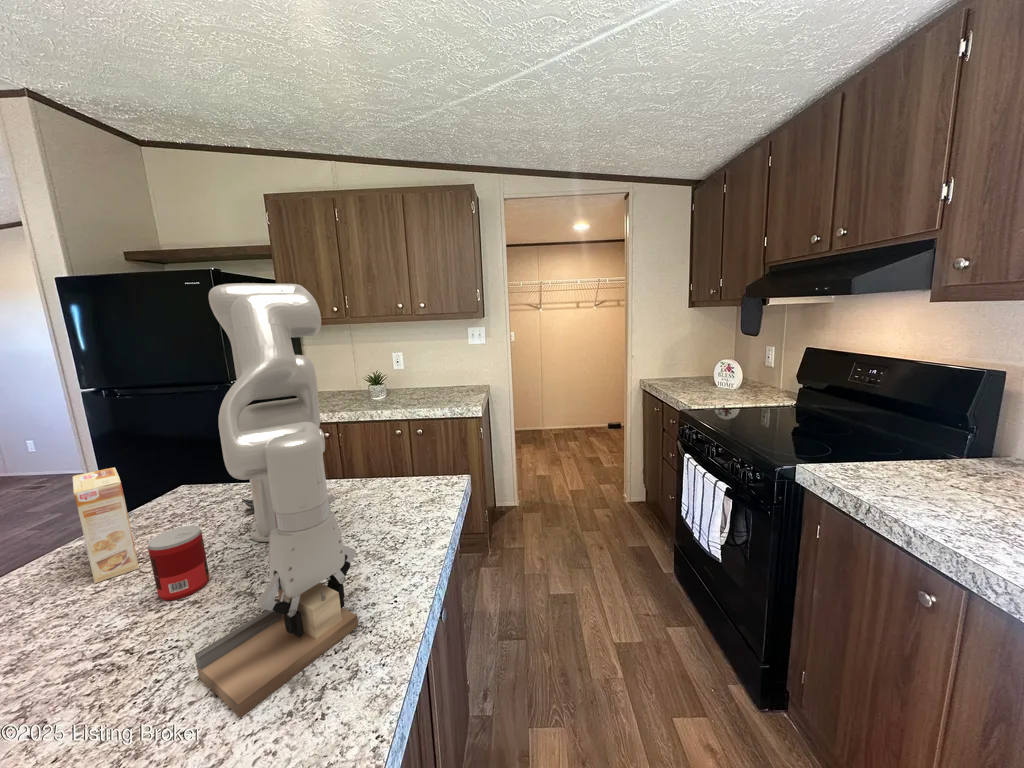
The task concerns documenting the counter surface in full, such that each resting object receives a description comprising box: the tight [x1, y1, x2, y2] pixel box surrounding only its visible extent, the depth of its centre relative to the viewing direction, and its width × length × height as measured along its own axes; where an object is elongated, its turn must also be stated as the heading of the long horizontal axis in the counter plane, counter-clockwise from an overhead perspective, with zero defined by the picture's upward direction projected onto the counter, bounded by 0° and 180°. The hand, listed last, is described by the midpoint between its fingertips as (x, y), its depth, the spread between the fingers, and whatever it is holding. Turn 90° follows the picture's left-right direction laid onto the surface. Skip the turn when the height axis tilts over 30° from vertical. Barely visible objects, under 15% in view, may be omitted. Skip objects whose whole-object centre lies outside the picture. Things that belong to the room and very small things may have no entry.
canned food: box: [147, 525, 210, 601], centre depth 80 cm, size 8×8×11 cm
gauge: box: [277, 582, 342, 639], centre depth 67 cm, size 9×5×8 cm, turn 58°
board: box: [194, 607, 359, 718], centre depth 63 cm, size 12×18×4 cm, turn 148°
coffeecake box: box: [72, 467, 140, 584], centre depth 89 cm, size 15×7×20 cm, turn 47°
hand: (317, 617), depth 66 cm, fingers open, 6 cm apart
